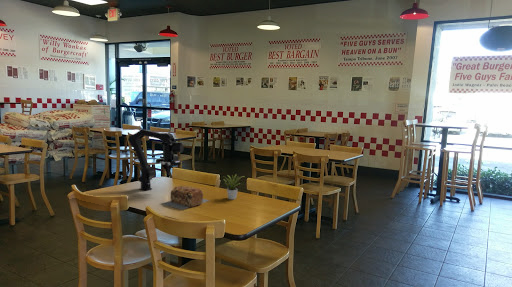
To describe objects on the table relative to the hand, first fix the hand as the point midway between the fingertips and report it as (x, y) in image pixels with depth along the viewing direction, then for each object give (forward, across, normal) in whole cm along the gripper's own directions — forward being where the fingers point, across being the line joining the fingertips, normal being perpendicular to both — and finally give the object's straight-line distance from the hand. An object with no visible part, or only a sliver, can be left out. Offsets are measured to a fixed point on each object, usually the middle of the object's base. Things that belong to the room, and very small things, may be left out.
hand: (168, 174), depth 247 cm
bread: (+12, -29, +11) cm, 33 cm away
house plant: (+13, -43, -18) cm, 48 cm away
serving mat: (+12, -27, +10) cm, 31 cm away
